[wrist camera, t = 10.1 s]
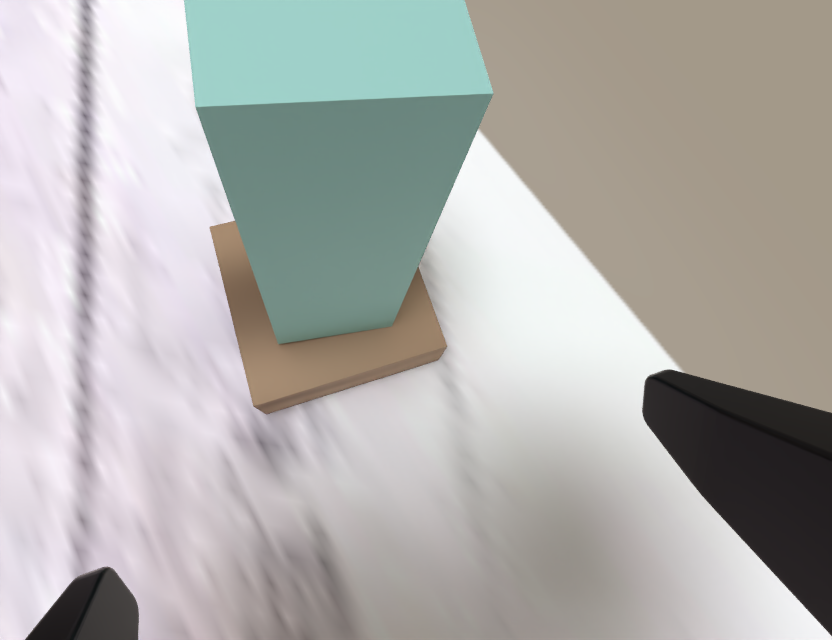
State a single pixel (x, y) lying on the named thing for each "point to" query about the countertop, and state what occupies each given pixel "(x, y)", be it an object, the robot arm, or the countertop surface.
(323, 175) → the teal block
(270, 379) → the walnut slab
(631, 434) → the countertop surface
